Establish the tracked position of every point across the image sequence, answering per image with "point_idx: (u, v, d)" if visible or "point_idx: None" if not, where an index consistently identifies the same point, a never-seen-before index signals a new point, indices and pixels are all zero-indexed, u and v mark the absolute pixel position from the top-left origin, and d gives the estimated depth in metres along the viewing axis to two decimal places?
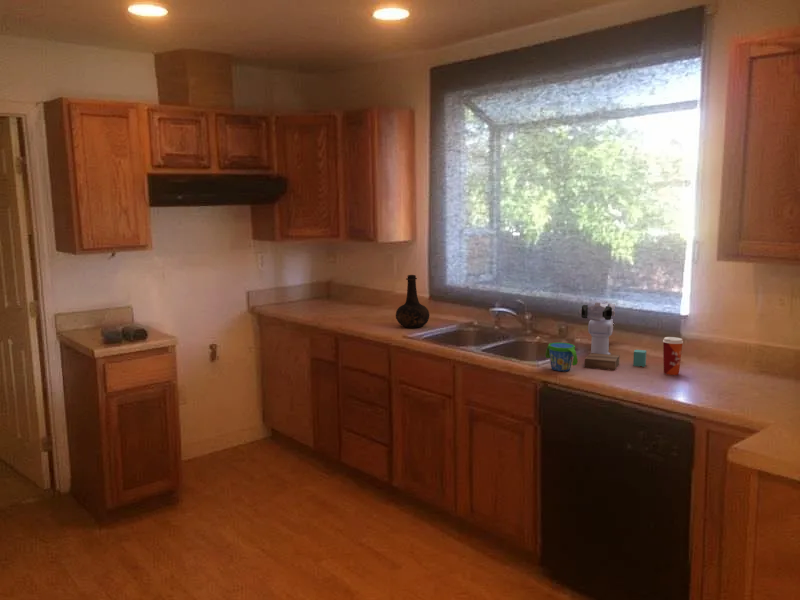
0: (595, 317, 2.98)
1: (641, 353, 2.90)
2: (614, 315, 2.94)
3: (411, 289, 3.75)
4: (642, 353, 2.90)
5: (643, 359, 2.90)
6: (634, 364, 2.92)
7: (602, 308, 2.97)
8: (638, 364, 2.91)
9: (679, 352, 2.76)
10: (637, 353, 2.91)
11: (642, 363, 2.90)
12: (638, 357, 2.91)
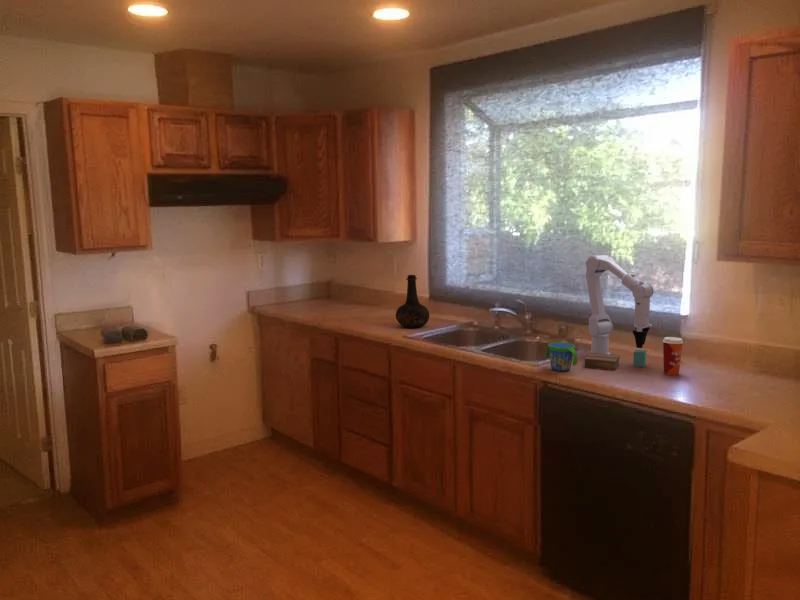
0: None
1: (641, 353, 2.90)
2: None
3: (411, 289, 3.75)
4: (642, 353, 2.90)
5: (643, 359, 2.90)
6: (634, 364, 2.92)
7: None
8: (638, 364, 2.91)
9: (679, 352, 2.76)
10: (637, 353, 2.91)
11: (642, 363, 2.90)
12: (638, 357, 2.91)
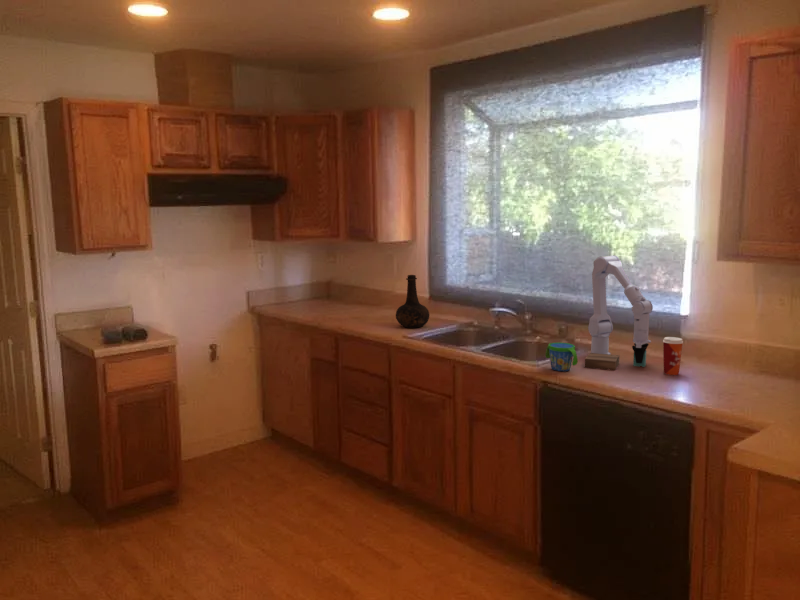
0: None
1: None
2: None
3: (411, 289, 3.75)
4: None
5: (643, 359, 2.90)
6: (634, 364, 2.92)
7: None
8: (638, 364, 2.91)
9: (679, 352, 2.76)
10: None
11: (642, 363, 2.90)
12: None
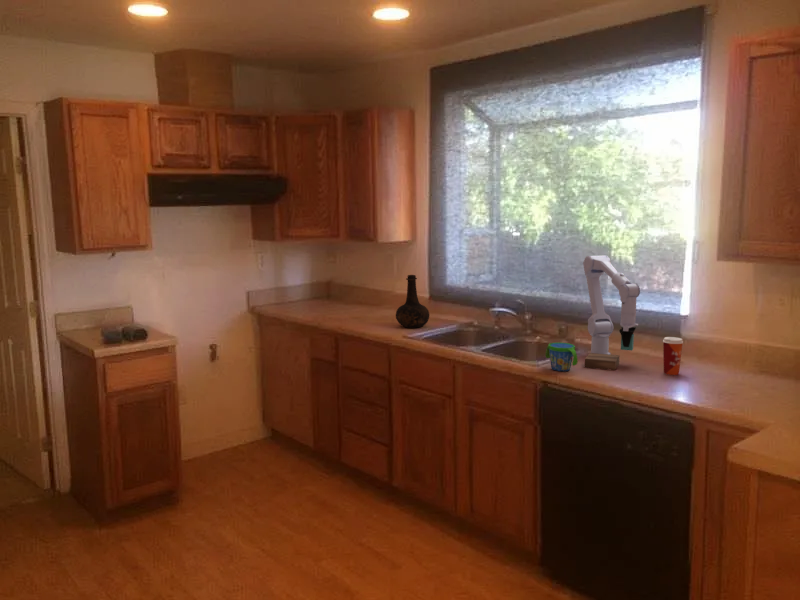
0: None
1: None
2: None
3: (411, 289, 3.75)
4: None
5: (630, 343, 2.89)
6: (621, 348, 2.91)
7: None
8: (625, 348, 2.90)
9: (679, 352, 2.76)
10: None
11: (629, 347, 2.89)
12: None
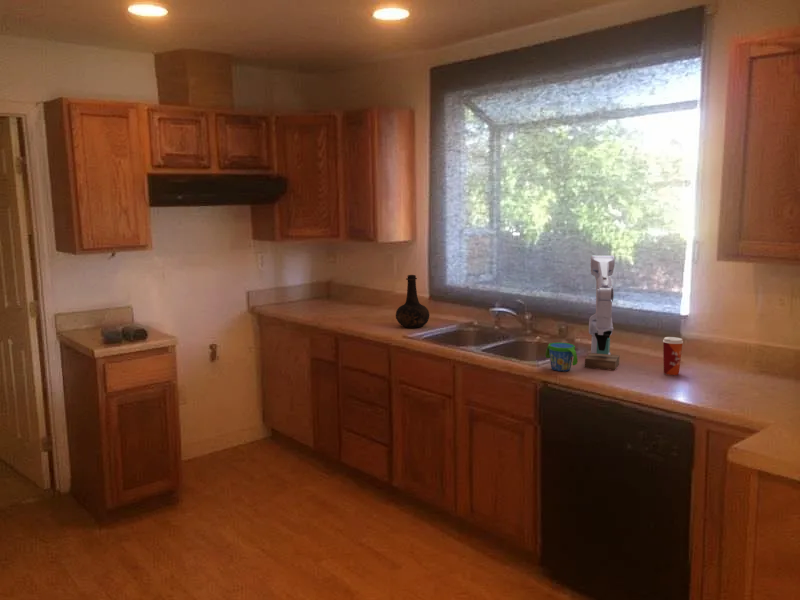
0: None
1: None
2: None
3: (411, 289, 3.75)
4: None
5: (606, 346, 2.89)
6: (597, 351, 2.91)
7: None
8: (601, 351, 2.90)
9: (679, 352, 2.76)
10: None
11: (605, 350, 2.89)
12: None
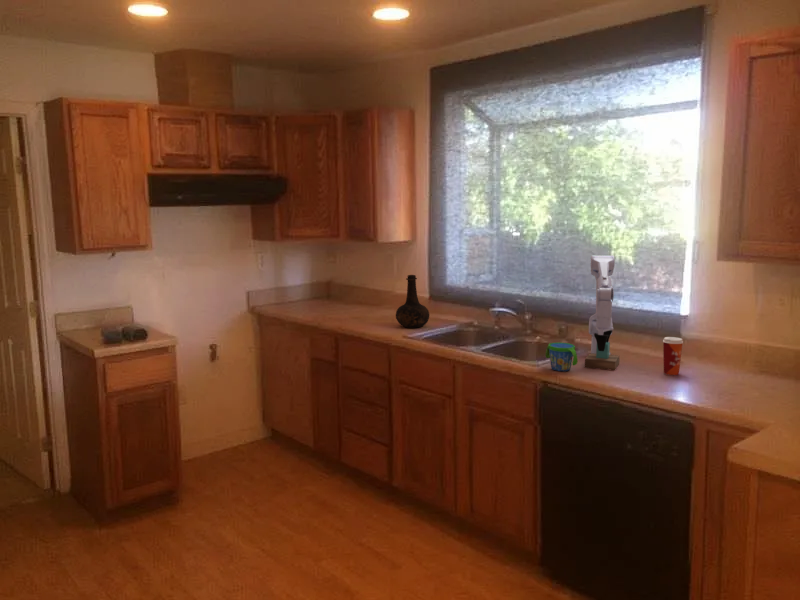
0: None
1: None
2: None
3: (411, 289, 3.75)
4: (605, 345, 2.89)
5: (606, 351, 2.89)
6: (597, 356, 2.91)
7: None
8: (601, 356, 2.90)
9: (679, 352, 2.76)
10: None
11: (605, 355, 2.89)
12: None
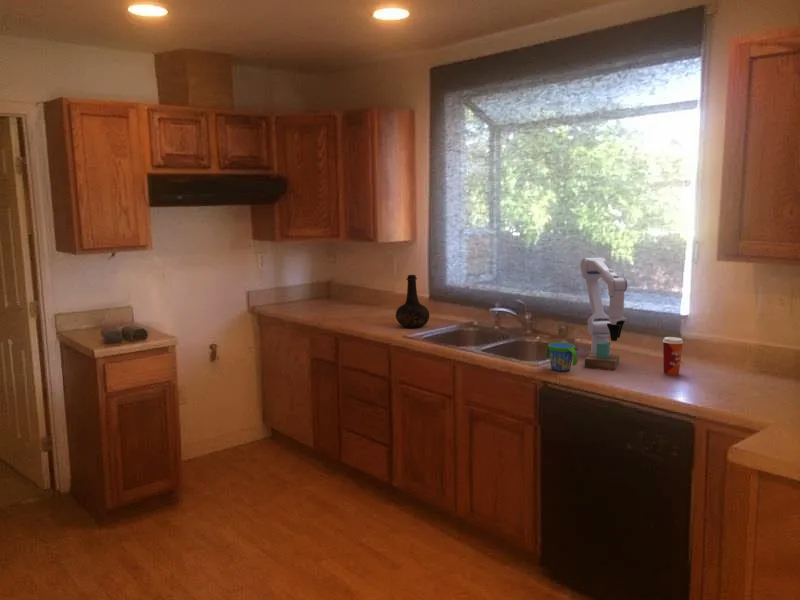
0: None
1: (604, 345, 2.89)
2: None
3: (411, 289, 3.75)
4: (605, 345, 2.89)
5: (606, 351, 2.89)
6: (597, 356, 2.91)
7: None
8: (601, 356, 2.90)
9: (679, 352, 2.76)
10: (600, 345, 2.90)
11: (605, 355, 2.89)
12: (601, 349, 2.90)
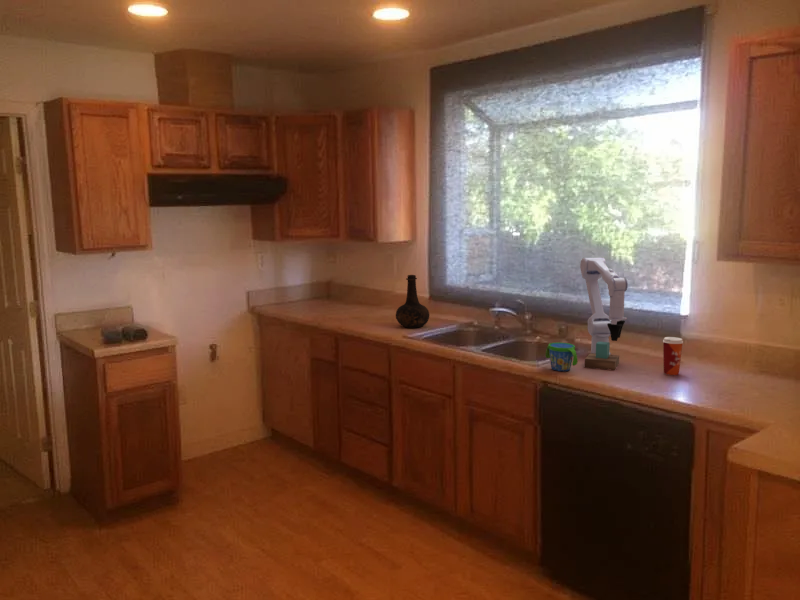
0: None
1: (603, 345, 2.89)
2: None
3: (411, 289, 3.75)
4: (604, 345, 2.89)
5: (605, 351, 2.89)
6: (596, 356, 2.91)
7: None
8: (600, 356, 2.90)
9: (679, 352, 2.76)
10: (599, 345, 2.90)
11: (604, 355, 2.89)
12: (600, 349, 2.90)
